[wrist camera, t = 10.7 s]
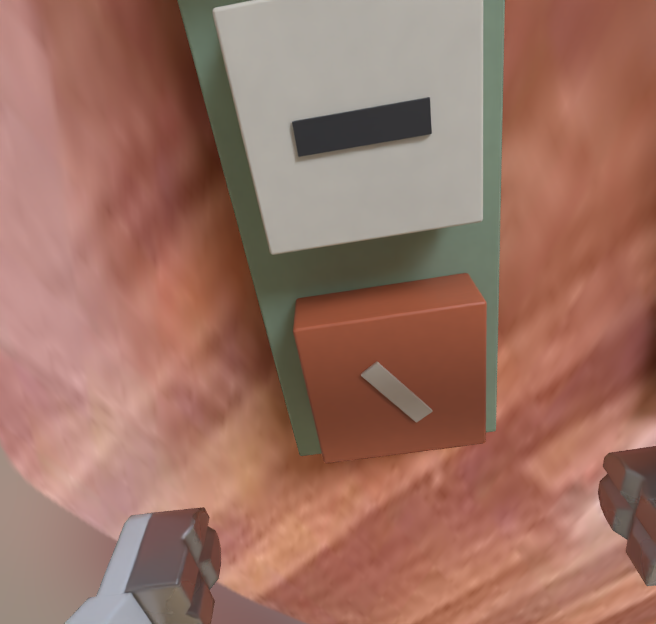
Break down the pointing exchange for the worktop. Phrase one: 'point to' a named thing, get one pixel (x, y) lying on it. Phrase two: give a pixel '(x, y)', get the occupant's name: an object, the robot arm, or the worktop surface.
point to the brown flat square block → (395, 367)
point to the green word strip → (355, 254)
